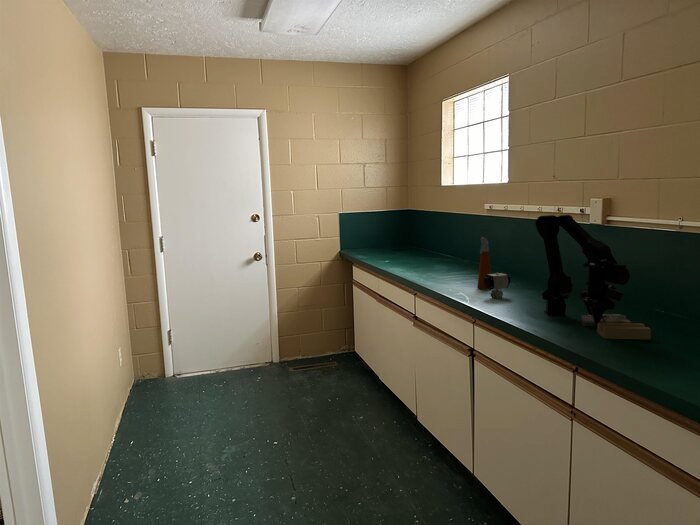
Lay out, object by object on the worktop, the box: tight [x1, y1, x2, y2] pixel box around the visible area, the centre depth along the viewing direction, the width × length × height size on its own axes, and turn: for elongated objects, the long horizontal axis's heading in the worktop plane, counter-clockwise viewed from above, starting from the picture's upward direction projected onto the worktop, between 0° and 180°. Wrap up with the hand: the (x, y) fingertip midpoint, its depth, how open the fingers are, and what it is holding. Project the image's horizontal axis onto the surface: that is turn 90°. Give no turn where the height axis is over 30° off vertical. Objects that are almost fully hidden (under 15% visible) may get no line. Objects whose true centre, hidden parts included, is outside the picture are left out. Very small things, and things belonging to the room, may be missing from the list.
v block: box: [596, 322, 652, 340], centre depth 160 cm, size 14×7×4 cm, turn 81°
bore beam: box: [603, 313, 632, 323], centre depth 172 cm, size 8×10×3 cm
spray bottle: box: [476, 236, 492, 290], centre depth 238 cm, size 7×11×26 cm, turn 146°
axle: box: [580, 314, 628, 327], centre depth 172 cm, size 14×4×4 cm, turn 81°
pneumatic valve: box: [484, 271, 512, 300], centre depth 218 cm, size 6×12×12 cm, turn 111°
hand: (594, 322), depth 173 cm, fingers closed on axle, 4 cm apart
